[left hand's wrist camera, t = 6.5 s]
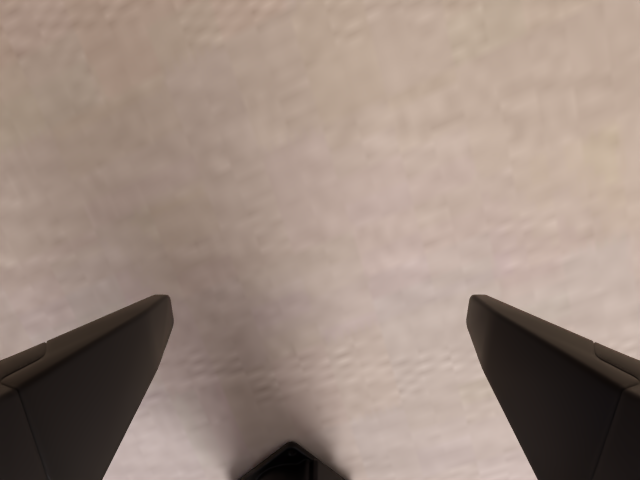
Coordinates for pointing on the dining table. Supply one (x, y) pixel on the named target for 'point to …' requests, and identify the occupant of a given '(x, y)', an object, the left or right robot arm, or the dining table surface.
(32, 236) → the dining table surface
